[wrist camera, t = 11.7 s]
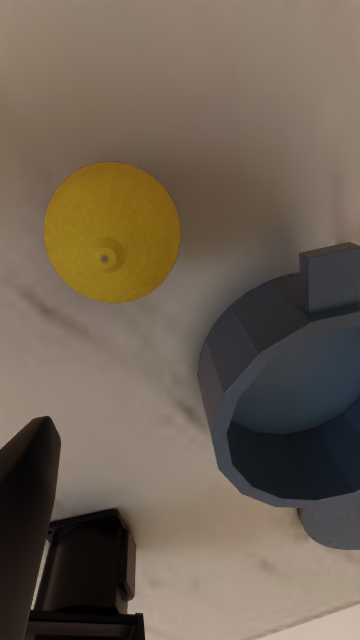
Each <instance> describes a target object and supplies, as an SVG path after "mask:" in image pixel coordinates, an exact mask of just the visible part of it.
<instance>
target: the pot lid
mask: <svg viewBox="0 0 360 640" xmlns="http://www.w3.org/2000/svg"><path fill="white" fill-rule="evenodd" d="M300 520H301V522H302V525H303V527H304V530H305V531H306V533H307V534H308V535H309V536H310V537H311V538H312V539H313V540H315V541H316V542H318V543H319V544H322V545H324V546H327V547H330V548H335V549H342V550H360V498H359V499H356V500H353V501H349V502H347V515H346V516H341V517H336V518H332V519H327V520H322V521H318V522H313V521H312V519H311V517H310V515H309V513H308V511H307V508H300Z"/></svg>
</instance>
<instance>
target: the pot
mask: <svg viewBox="0 0 360 640" xmlns="http://www.w3.org/2000/svg"><path fill="white" fill-rule="evenodd" d="M299 269H300V273H296V274H290V275H286V276H283V277H279V278H276V279H273V280H271V281H269V282H266V283H264V284H262V285H260V286H258V287H256V288H254V289H253V290H251V291H249V292H248V293H246V294H245V295H243V296H242V297H241V298H239V299H238V300H237V301H236V302H234V303H233V304H232V305H231V306H230V307H229V308H228V309H227V310H226V311H225V312H224V313H223V314H222V316H221V317H220V318H219V319H218V320H217V322H216V323H215V325H214V326H213V328H212V329H211V331H210V332H209V334H208V336H207V338H206V340H205V343H204V345H203V348H202V351H201V355H200V360H199V369H198V373H197V376H198V380H199V385H200V390H201V395H202V399H203V404H204V408H205V413H206V417H207V421H208V426H209V430H210V434H211V438H212V443H213V447H214V451H215V456H216V460H217V464H218V468H219V470H220V471H221V472H222V473H223V474H224V475H225V476H226V477H227V478H228V479H229V481H230V482H231V483H232V484H233V485H234V486H235V487H236V488H237V489H238V490H239V491H240V492H241V493H242V494H244V495H246V496H249V497H251V498H254V499H256V500H259V501H261V502H264V503H267V504H269V505H272V506H274V507H287V508H307V511H308V513H309V515H310V517H311V519H312V521H313V522H318V521H322V520H327V519H332V518H336V517H341V516H346V515H347V502H349V501H353V500H356V499H359V498H360V246H358V245H356V244H353V243H351V242H347V243H343V244H338V245H334V246H329V247H325V248H320V249H315V250H311V251H306V252H302V253H299Z"/></svg>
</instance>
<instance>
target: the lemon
mask: <svg viewBox="0 0 360 640" xmlns="http://www.w3.org/2000/svg"><path fill="white" fill-rule="evenodd" d="M44 238H45V245H46V251H47V253H48V256H49V258H50V261H51V263H52V266H53V267H54V268H55V270H56V271H57V273H58V274H59V276H60V277H61V279H62V280H63V281H65V282H66V283H67V284H68V285H69V286H70V287H71V288H72V289H73V290H75V291H77V292H78V293H80V294H82V295H84V296H85V297H87V298H90V299H93V300H96V301H100V302H106V303H122V302H128V301H134V300H136V299H138V298H141V297H143V296H145V295H147V294H149V293H150V292H151V291H153V290H154V289H155V288H157V287H158V286H159V285H160V284H161V283H162V282H163V281H164V279H165V278H166V277H167V276H168V274H169V273H170V272H171V270H172V267H173V265H174V263H175V261H176V259H177V256H178V252H179V247H180V241H181V231H180V220H179V217H178V214H177V211H176V208H175V204H174V202H173V201H172V199H171V197H170V196H169V194H168V193H167V191H166V190H165V188H164V187H163V186H162V185H161V184H160V183H159V182H158V181H157V180H156V179H155V178H153V177H152V176H151V175H149V174H148V173H146V172H144V171H142V170H141V169H139V168H137V167H135V166H131V165H127V164H124V163H120V162H100V163H96V164H93V165H90V166H86V167H83V168H81V169H79V170H78V171H76V172H75V173H73V174H72V175H70V176H69V177H67V178H66V179H65V181H64V182H63V183H62V184H61V185H60V187H59V188H58V189H57V190H56V191H55V193H54V195H53V197H52V199H51V201H50V204H49V206H48V208H47V211H46V217H45V224H44Z"/></svg>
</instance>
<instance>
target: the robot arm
mask: <svg viewBox="0 0 360 640" xmlns="http://www.w3.org/2000/svg"><path fill="white" fill-rule="evenodd" d="M60 449H61V439H60V436H59V434H58V431H57V429H56V427H55V425H54V423H53V421H52V419H51V418H50V417H49V416H43V417H38V418H34V419H32V420H31V421H30V422H29V423H28V424H27V425H26V426H25V427H24V428H23V429H22V430H21V431H19V432H18V433H17V434H16V435H15V436H14V437H13V438H12V439H11V440H10V441H9V442H8V443H7V444H6V445H5V446H4V447H2V448H1V449H0V640H145V632H144V619H143V613H135V615H134V614H127V607H128V601H130V600H132V599H133V598H134V596H135V564H136V544H135V542H134V540H133V537H132V535H131V533H130V531H129V529H127V528H126V527H125V525H124V522H123V520H122V518H121V516H120V514H119V512H118V511H115V510H112V511H107V512H102V513H98V514H93V515H88V516H84V517H79V518H74V519H70V520H65V521H60V522H56V523H51V524H49V523H50V519H51V514H52V510H53V505H54V500H55V493H56V485H57V476H58V467H59V458H60ZM46 538H47V540H48V541H49V543H50V546H49V550H48V554H47V558H46V562H45V565H44V569H43V573H42V577H41V581H40V585H39V589H38V593H37V597H36V601H35V605H34V609H33V610H30V609H31V605H32V600H33V596H34V591H35V587H36V582H37V578H38V573H39V569H40V564H41V560H42V555H43V551H44V546H45V542H46Z"/></svg>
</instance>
